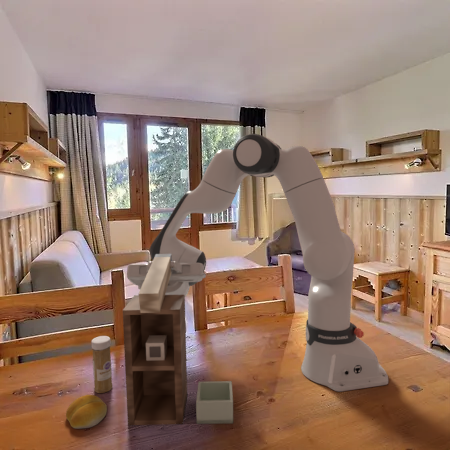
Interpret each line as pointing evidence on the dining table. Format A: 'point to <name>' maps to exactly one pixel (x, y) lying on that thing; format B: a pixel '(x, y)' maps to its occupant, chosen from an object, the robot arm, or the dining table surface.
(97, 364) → the sprinkles bottle
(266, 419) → the dining table surface
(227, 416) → the green box
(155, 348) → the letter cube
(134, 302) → the walnut shelf
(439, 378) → the dining table surface
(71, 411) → the bread roll
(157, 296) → the birch bar
